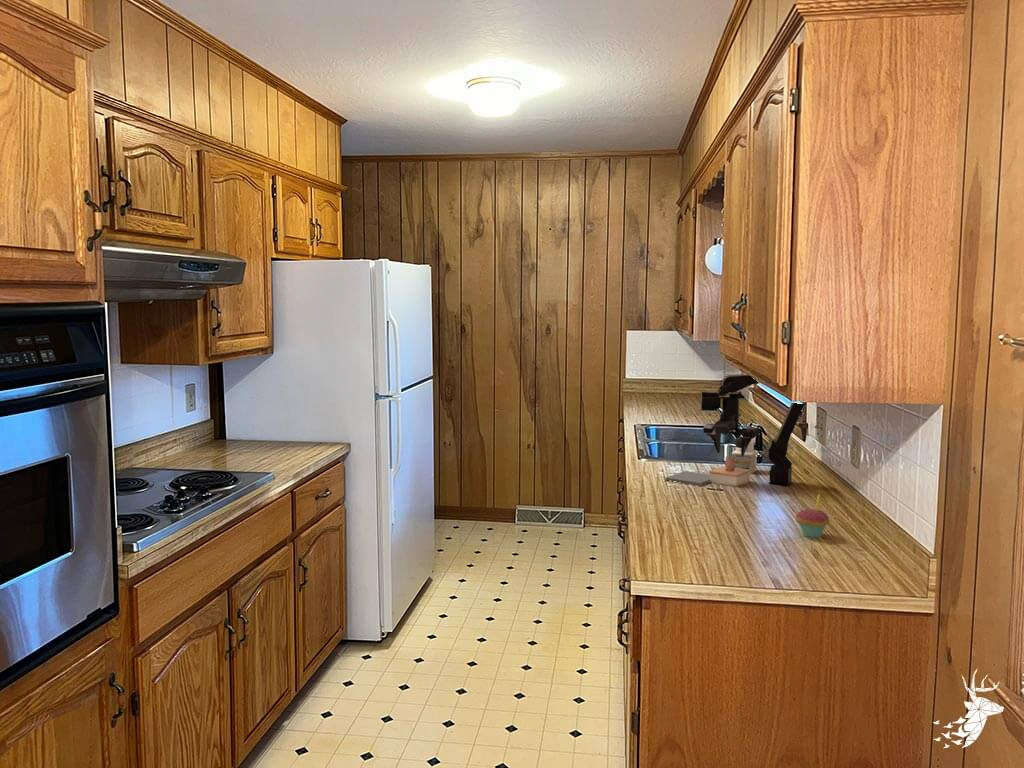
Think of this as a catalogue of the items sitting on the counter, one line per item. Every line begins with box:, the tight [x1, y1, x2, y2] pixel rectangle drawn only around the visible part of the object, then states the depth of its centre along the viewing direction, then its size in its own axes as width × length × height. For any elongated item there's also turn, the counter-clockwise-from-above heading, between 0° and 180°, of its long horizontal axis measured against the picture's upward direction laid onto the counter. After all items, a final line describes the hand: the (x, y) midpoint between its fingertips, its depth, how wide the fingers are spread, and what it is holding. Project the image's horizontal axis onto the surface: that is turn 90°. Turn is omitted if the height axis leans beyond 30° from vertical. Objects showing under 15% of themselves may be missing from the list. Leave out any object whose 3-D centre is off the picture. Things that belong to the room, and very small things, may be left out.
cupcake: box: [795, 492, 830, 538], centre depth 208 cm, size 9×8×12 cm
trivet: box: [665, 470, 711, 487], centre depth 276 cm, size 14×14×1 cm
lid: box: [708, 456, 750, 477], centre depth 271 cm, size 11×11×5 cm
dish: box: [709, 473, 750, 487], centre depth 271 cm, size 10×10×4 cm
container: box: [731, 436, 757, 475], centre depth 288 cm, size 8×8×13 cm
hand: (730, 454), depth 271 cm, fingers open, 9 cm apart
